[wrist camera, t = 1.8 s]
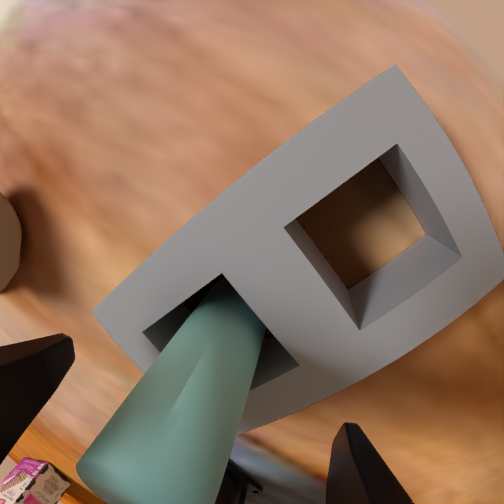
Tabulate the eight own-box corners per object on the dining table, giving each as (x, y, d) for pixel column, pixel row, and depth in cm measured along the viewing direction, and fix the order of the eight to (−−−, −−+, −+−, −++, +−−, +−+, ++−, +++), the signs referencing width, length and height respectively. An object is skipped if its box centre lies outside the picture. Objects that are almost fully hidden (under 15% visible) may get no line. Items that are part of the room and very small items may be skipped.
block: (469, 247, 11) (510, 273, 8) (233, 395, 15) (216, 441, 12) (372, 90, 10) (395, 64, 7) (132, 282, 14) (91, 312, 11)
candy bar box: (47, 459, 26) (-11, 532, 10) (72, 483, 26) (21, 556, 11) (22, 455, 29) (-27, 512, 13) (43, 476, 29) (-2, 534, 14)
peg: (284, 315, 13) (237, 532, 4) (233, 346, 14) (151, 531, 5) (241, 263, 13) (116, 454, 4) (193, 299, 14) (59, 464, 5)
